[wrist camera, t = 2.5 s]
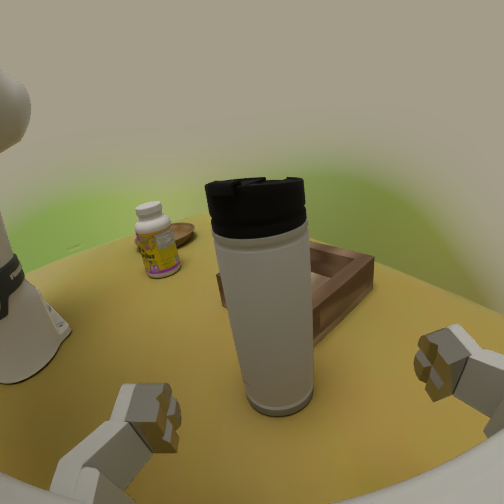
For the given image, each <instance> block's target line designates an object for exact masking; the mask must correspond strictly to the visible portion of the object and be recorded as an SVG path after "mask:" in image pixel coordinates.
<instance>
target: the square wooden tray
mask: <svg viewBox="0 0 504 504" xmlns="http://www.w3.org/2000/svg"><path fill="white" fill-rule="evenodd" d="M309 247H310V265H311V286H312V314H313V347H314V346H315V345H316V344H317V343H318V342H319V341H320V340H321V339H322V338H323V337H324V336H325V335H326V334H328V333H329V332H330V331H331V330H332V329H333V328H334V327H335V326H336V325H337V324H338V323H339V322H340V321H341V320H342V319H343V318H344V317H345V316H346V315H347V314H348V313H349V312H350V311H351V310H352V309H353V308H354V307H355V306H356V305H357V304H358V303H359V302H360V301H361V300H362V299H363V298H364V297H365V296H366V295H367V294H368V293H369V292H370V291H371V290H372V289H373V275H374V256H370V255H366V254H362V253H358V252H354V251H349V250H345V249H341V248H337V247H333V246H329V245H324V244H320V243H316V242H311V241H309ZM216 277H217V281H218V286H219V291H220V296H221V300H222V305H223V306H224V307H226V308H227V305H226V300H225V295H224V290H223V286H222V281H221V276H220V273H218V274H216Z"/></svg>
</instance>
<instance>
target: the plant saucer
mask: <svg viewBox="0 0 504 504" xmlns="http://www.w3.org/2000/svg"><path fill="white" fill-rule="evenodd" d="M171 226H172V230H173V235H174V239H175V243H176V247H178V246H180V245H182V244H184V243H185V242H186V241H187V240H188V239H189V238H190V236H191V235H192V233H193V231H194V228H195V226H194V225H193V224H190V223H173V224H171ZM134 242H135V244H136V245H137V246H139V243H138V240H137V238H136V239H135V241H134Z"/></svg>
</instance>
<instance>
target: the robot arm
mask: <svg viewBox="0 0 504 504" xmlns="http://www.w3.org/2000/svg"><path fill="white" fill-rule="evenodd" d="M30 114H31V104H30V98H29V95H28V92H27V90H26V88H25V87H24V85H23V84H22V83H21V82H20V81H19V80H17V79H16V78H13V77H11V76H9V75H7V74H6V73H4V72H3V71H1V70H0V153H2V152H3V151H5V150H6V149H8V148H10V147H11V146H13V145H14V144H16V143H18V142H19V141H21V139H22V137H23V136H24V134H25V132H26V129H27V126H28V124H29V120H30ZM24 277H25V275H24V272H23V270H22V266H21V263H20V261H19V260H18V258H17V255H16V254H14V253H13V251H12V249H11V246H10V243H9V240H8V237H7V233H6V230H5V227H4V224H3V220H2V216H1V213H0V383H15V382H18V381H21V380H24V379H26V378H28V377H30V376H31V375H33V374H35V373H36V372H38V371H39V370H40V369H41V368H43V367H44V366H45V365H46V364H47V363H48V362H49V361H50V360H51V358H52V357H53V356H54V354H55V353H56V351H57V349H58V347H59V345H60V344H61V342H62V341H63V340H64V339H65V338H66V337H67V336H68V335H69V334H70V332H71V331H72V329H71V327H70V326H69V324H68V323H67V322H66V321H65V320H64V319H63V318H62V317H61V316H60V315H59V314H58V313H57V312H56V311H55V310H54V309H53V308H52V307H51V306H50V304H49V303H48V302H46V301H44V299H43V297H42V295H41V292H40V290H39V289H36V288H35V286H34V285H32V284H30V283H29V282H28V281H27V280H26V279H25V278H24ZM418 347H419V348H420V350H419V351H418V352H417V353H416V355H415V358H414V370H415V373H416V375H417V377H418V379H419V380H420V381H422V382H424V383H426V386H425V390H426V392H427V393H428V395H429V396H430V398H431V400H432V401H433V402H436V401H438V400H441V399H443V398H446V397H448V396H450V395H453V396H454V397H456V398H458V399H459V400H461V401H463V402H464V403H466V404H468V405H469V406H471V407H473V408H474V409H476V410H478V411H479V412H481V413H483V414H484V415H486V416H488V417H490V418H491V419H490V420H489V422H488V423H487V425H486V426H485V428H484V433H485V435H486V436H487V438H488V439H486V440H484V441H483V442H481V443H480V444H478V445H476V446H474V447H473V448H471V449H469V450H467V451H466V452H464V453H462V454H460V455H458V456H456V457H455V458H453V459H451V460H449V461H447V462H445V463H443V464H441V465H439V466H437V467H434V468H432V469H430V470H428V471H426V472H423V473H421V474H419V475H417V476H414V477H412V478H409V479H407V480H404V481H402V482H399V483H396V484H394V485H391V486H388V487H385V488H383V489H380V490H377V491H374V492H370V493H367V494H364V495H361V496H357V497H354V498H350V499H346V500H342V501H339V502H334V503H330V504H504V355H502V354H499V353H496V352H494V351H491V350H488V349H484V350H482V348H481V347H480V346H479V345H478V344H477V343H476V342H475V341H474V340H473V339H472V337H471V336H470V335H469V334H468V333H467V332H466V331H465V330H464V329H463V328H462V327H461V326H460V325H459V324H453V325H451V326H448V327H445V328H442V329H440V330H437V331H434V332H431V333H428V334H425V335H423V336H421V337H420V339H419V341H418ZM171 394H172V389H171V387H170V385H169V384H168V383H138V384H129V383H124V384H123V385H122V386H121V388H120V391H119V394H118V396H117V399H116V402H115V405H114V408H113V411H112V414H111V417H110V420H109V421H105V422H104V423H102V424H101V425H100V426H99V427H98V428H97V429H95V430H94V431H93V432H92V433H91V434H90V435H88V436H87V437H86V438H85V439H84V440H83V441H81V442H80V443H79V444H78V445H77V446H75V447H74V448H73V449H72V450H71V451H69V452H68V453H67V454H66V455H65V456H63V457H62V458H61V459H60V460H59V462H58V465H57V468H56V471H55V474H54V477H53V480H52V483H51V486H50V489H49V491H47V490H44V489H41V488H38V487H36V486H33V485H30V484H28V483H25V482H23V481H20V480H18V479H15V478H13V477H11V476H9V475H6V474H4V473H2V472H0V504H136V502H135V501H134V499H132V498H131V497H130V496H129V495H127V494H126V493H125V492H123V491H124V490H125V489H126V488H127V486H128V485H129V484H130V483H131V481H132V480H133V479H134V478H135V476H136V475H137V474H138V473H139V471H140V470H141V469H142V468H143V467H144V465H145V464H146V463H147V461H148V460H149V459H150V458H151V456H152V455H153V454H152V453H177V451H178V443H179V435H178V434H177V432H176V430H177V429H178V428H179V427H180V426H181V410H180V406H179V403H178V401H177V399H175V398H174V397H172V396H171Z"/></svg>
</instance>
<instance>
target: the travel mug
mask: <svg viewBox="0 0 504 504" xmlns="http://www.w3.org/2000/svg"><path fill="white" fill-rule="evenodd" d="M205 191H206V196H207V203H208V208H209V214H210V216H211V217H212V219H211V225H212V235H213V237H214V245H215V250H216V256H217V261H218V266H219V271H220V276H221V281H222V286H223V290H224V295H225V300H226V305H227V310H228V314H229V319H230V324H231V328H232V333H233V337H234V342H235V346H236V351H237V355H238V360H239V364H240V368H241V373H242V377H243V381H244V385H245V389H246V394H247V398H248V400H249V403H250V404H251V405H252V407H253V408H255V409H256V410H257V411H259V412H261V413H263V414H266V415H270V416H285V415H290V414H293V413H295V412H297V411H299V410H301V409H302V408H303V407H305V406H306V405H307V404H308V402H309V401H310V399H311V397H312V395H313V314H312V286H311V265H310V247H309V232H308V228H307V226H308V219H307V216H306V208H305V207H304V205H305V192H304V181H303V179H302V178H297V177H287V179H284V180H266V178H265V177H259V178H244V179H233V180H226V181H214V182H211V183H208V184H206V185H205Z"/></svg>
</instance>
